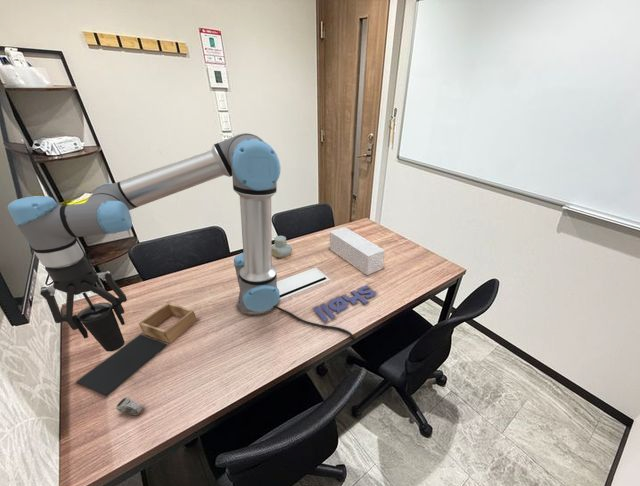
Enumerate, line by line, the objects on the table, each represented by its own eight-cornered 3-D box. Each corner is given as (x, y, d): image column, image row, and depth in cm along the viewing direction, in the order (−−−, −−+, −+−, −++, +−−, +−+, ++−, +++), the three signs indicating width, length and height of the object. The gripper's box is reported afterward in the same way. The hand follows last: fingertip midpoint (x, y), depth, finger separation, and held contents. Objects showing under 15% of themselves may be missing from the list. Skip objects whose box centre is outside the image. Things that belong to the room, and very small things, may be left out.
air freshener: (268, 254, 150) (266, 237, 144) (280, 248, 155) (278, 232, 150) (283, 261, 144) (281, 244, 139) (294, 255, 150) (293, 238, 145)
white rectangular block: (329, 249, 158) (329, 231, 152) (344, 244, 164) (345, 227, 158) (366, 275, 137) (368, 256, 132) (382, 268, 143) (384, 250, 137)
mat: (167, 345, 96) (167, 344, 96) (106, 396, 80) (105, 394, 79) (140, 335, 99) (140, 334, 98) (77, 382, 83) (75, 381, 82)
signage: (366, 284, 129) (380, 296, 123) (366, 286, 130) (380, 297, 123) (312, 307, 115) (324, 321, 108) (312, 308, 115) (324, 322, 108)
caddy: (197, 320, 106) (193, 310, 104) (170, 343, 97) (165, 332, 94) (172, 312, 109) (168, 302, 107) (143, 333, 100) (138, 323, 97)
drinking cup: (114, 358, 81) (81, 304, 71) (92, 352, 82) (56, 299, 72) (136, 338, 88) (109, 287, 77) (115, 334, 89) (86, 282, 78)
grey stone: (126, 405, 78) (119, 394, 75) (148, 407, 78) (141, 396, 75) (116, 417, 75) (108, 406, 72) (138, 420, 75) (131, 409, 72)
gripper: (115, 243, 77) (144, 307, 89) (5, 268, 65) (56, 337, 78) (118, 254, 73) (149, 320, 85) (1, 283, 61) (56, 354, 73)
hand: (104, 328), depth 81 cm, fingers closed on drinking cup, 8 cm apart
